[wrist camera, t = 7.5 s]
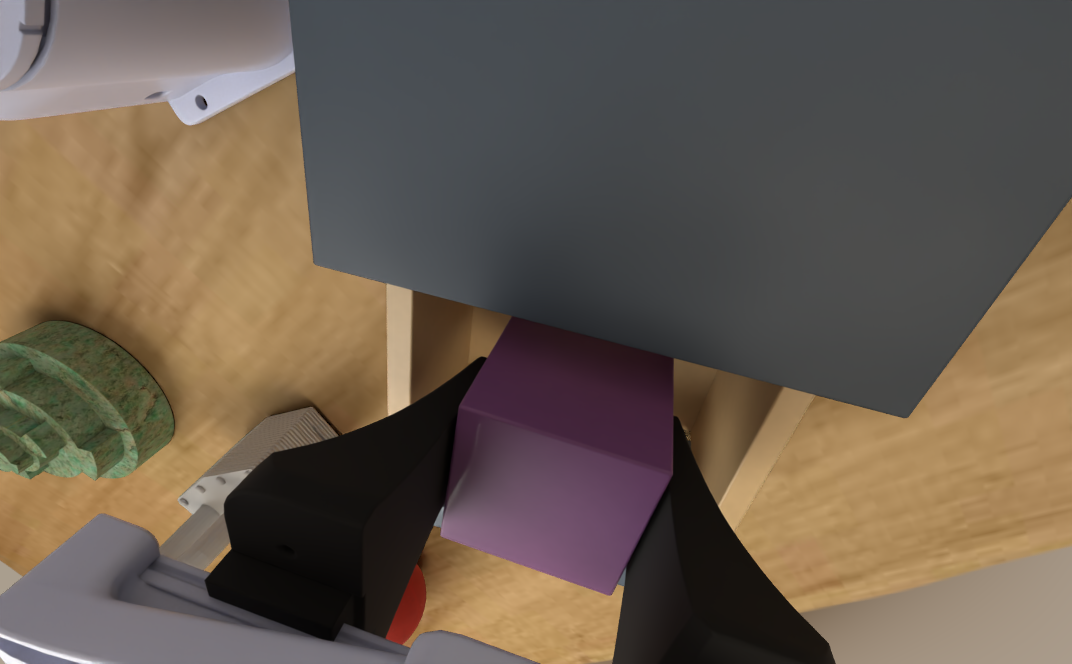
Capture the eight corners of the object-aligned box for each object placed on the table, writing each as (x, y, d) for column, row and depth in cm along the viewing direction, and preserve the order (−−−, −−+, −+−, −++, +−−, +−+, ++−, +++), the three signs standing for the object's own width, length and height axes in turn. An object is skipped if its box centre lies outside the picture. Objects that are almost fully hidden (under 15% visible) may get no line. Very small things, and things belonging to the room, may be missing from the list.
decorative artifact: (170, 472, 35) (179, 377, 29) (67, 561, 29) (53, 463, 23) (38, 400, 34) (21, 289, 29) (-96, 477, 28) (-149, 355, 23)
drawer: (676, 526, 24) (676, 675, 19) (437, 454, 26) (370, 572, 20) (873, 117, 14) (1004, 172, 9) (464, 39, 16) (345, 40, 10)
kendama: (365, 633, 42) (471, 596, 31) (305, 710, 38) (405, 699, 26) (302, 568, 42) (386, 506, 31) (234, 636, 37) (303, 593, 26)
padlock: (280, 477, 32) (139, 635, 23) (235, 431, 30) (68, 581, 22) (354, 448, 29) (221, 619, 20) (307, 395, 27) (144, 555, 19)
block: (675, 345, 14) (674, 475, 10) (628, 456, 17) (611, 598, 12) (520, 299, 15) (457, 405, 10) (497, 414, 17) (438, 537, 13)
